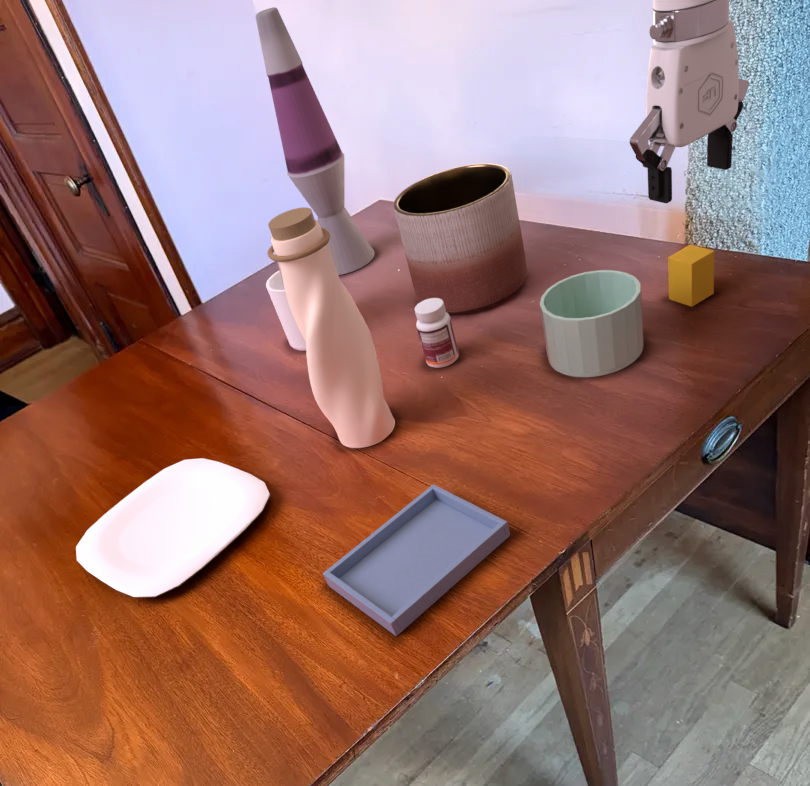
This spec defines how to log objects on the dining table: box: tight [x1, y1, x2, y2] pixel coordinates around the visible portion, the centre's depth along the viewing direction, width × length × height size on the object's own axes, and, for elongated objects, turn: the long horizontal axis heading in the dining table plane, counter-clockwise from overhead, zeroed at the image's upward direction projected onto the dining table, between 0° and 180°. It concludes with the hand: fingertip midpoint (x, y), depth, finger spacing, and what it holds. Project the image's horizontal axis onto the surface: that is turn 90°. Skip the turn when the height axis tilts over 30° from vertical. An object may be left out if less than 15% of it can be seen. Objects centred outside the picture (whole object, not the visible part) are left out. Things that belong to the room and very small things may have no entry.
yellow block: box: [667, 244, 715, 308], centre depth 98 cm, size 4×4×6 cm
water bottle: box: [267, 207, 396, 449], centre depth 89 cm, size 10×9×28 cm
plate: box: [75, 457, 271, 599], centre depth 92 cm, size 22×22×2 cm
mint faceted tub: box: [539, 269, 644, 378], centre depth 94 cm, size 12×12×8 cm
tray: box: [322, 483, 511, 637], centre depth 77 cm, size 16×11×2 cm
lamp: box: [255, 6, 376, 276], centre depth 126 cm, size 11×11×40 cm
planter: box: [392, 163, 528, 315], centre depth 113 cm, size 18×18×16 cm
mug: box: [265, 270, 307, 352], centre depth 118 cm, size 13×10×10 cm
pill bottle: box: [414, 298, 460, 369], centre depth 102 cm, size 5×5×8 cm
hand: (689, 183), depth 91 cm, fingers open, 9 cm apart
